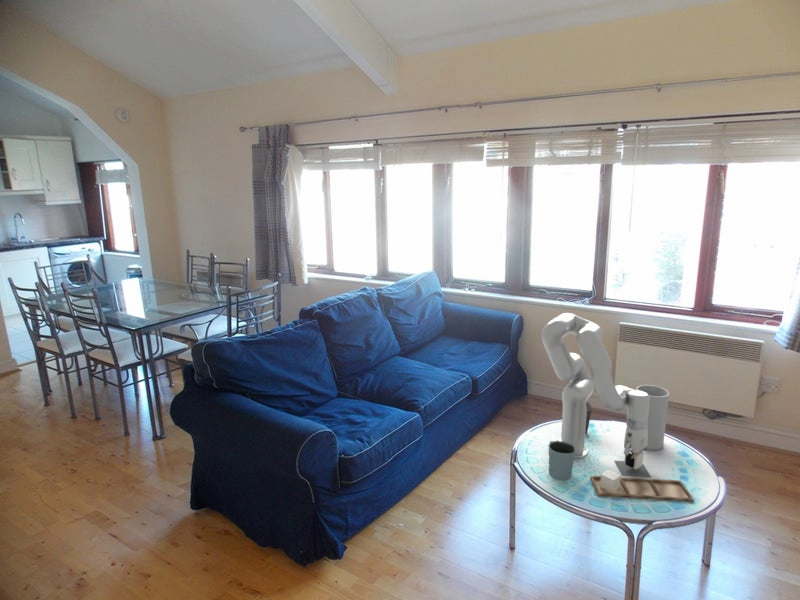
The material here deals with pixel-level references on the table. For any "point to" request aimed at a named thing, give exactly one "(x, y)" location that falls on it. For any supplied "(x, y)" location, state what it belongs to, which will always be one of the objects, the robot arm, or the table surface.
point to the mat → (632, 470)
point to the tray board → (646, 489)
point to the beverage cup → (588, 415)
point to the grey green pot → (561, 459)
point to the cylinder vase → (656, 415)
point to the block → (610, 481)
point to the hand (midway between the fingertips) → (633, 463)
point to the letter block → (637, 459)
